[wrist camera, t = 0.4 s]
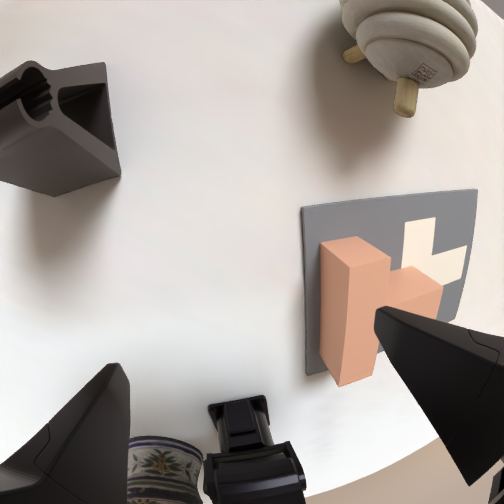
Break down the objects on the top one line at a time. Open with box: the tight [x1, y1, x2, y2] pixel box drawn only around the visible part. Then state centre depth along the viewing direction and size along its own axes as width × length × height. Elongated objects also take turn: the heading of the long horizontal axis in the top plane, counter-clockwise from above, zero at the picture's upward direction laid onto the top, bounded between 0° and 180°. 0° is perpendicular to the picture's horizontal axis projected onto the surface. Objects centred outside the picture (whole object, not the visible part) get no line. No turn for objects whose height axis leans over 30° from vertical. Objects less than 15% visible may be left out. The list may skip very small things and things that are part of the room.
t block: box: [319, 236, 444, 387], centre depth 23 cm, size 12×10×5 cm
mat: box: [301, 189, 478, 376], centre depth 26 cm, size 18×23×1 cm
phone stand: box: [0, 61, 121, 197], centre depth 10 cm, size 9×6×12 cm, turn 8°
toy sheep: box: [339, 0, 478, 118], centre depth 12 cm, size 11×17×11 cm, turn 175°
